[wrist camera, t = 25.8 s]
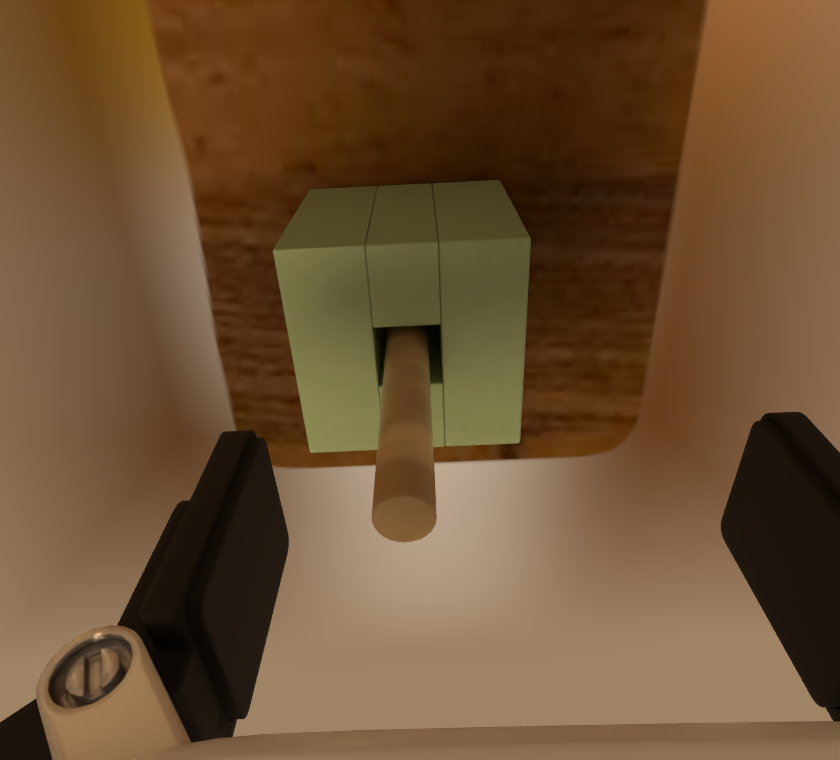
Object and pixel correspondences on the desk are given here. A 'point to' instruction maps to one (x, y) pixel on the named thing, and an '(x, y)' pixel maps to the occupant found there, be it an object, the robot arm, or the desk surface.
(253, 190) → the desk surface
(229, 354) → the desk surface
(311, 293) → the stand
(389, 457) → the stick
